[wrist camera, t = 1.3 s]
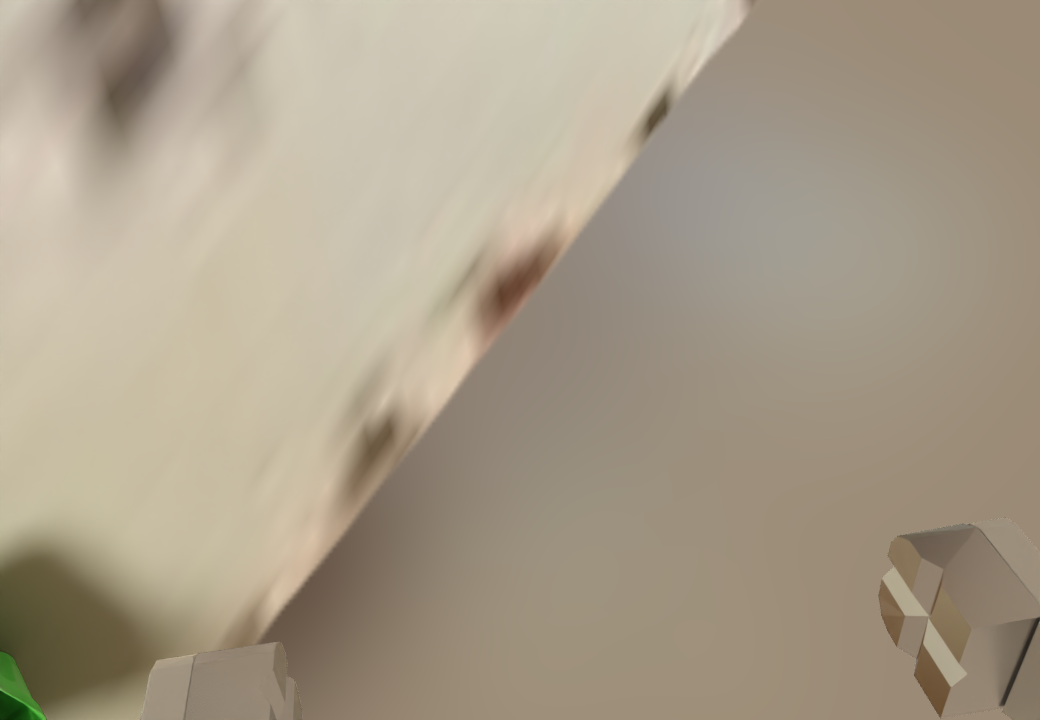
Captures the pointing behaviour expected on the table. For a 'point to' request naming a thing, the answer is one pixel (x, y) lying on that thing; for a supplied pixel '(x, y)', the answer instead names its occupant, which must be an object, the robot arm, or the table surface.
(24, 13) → the table surface
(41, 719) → the fruit basket
